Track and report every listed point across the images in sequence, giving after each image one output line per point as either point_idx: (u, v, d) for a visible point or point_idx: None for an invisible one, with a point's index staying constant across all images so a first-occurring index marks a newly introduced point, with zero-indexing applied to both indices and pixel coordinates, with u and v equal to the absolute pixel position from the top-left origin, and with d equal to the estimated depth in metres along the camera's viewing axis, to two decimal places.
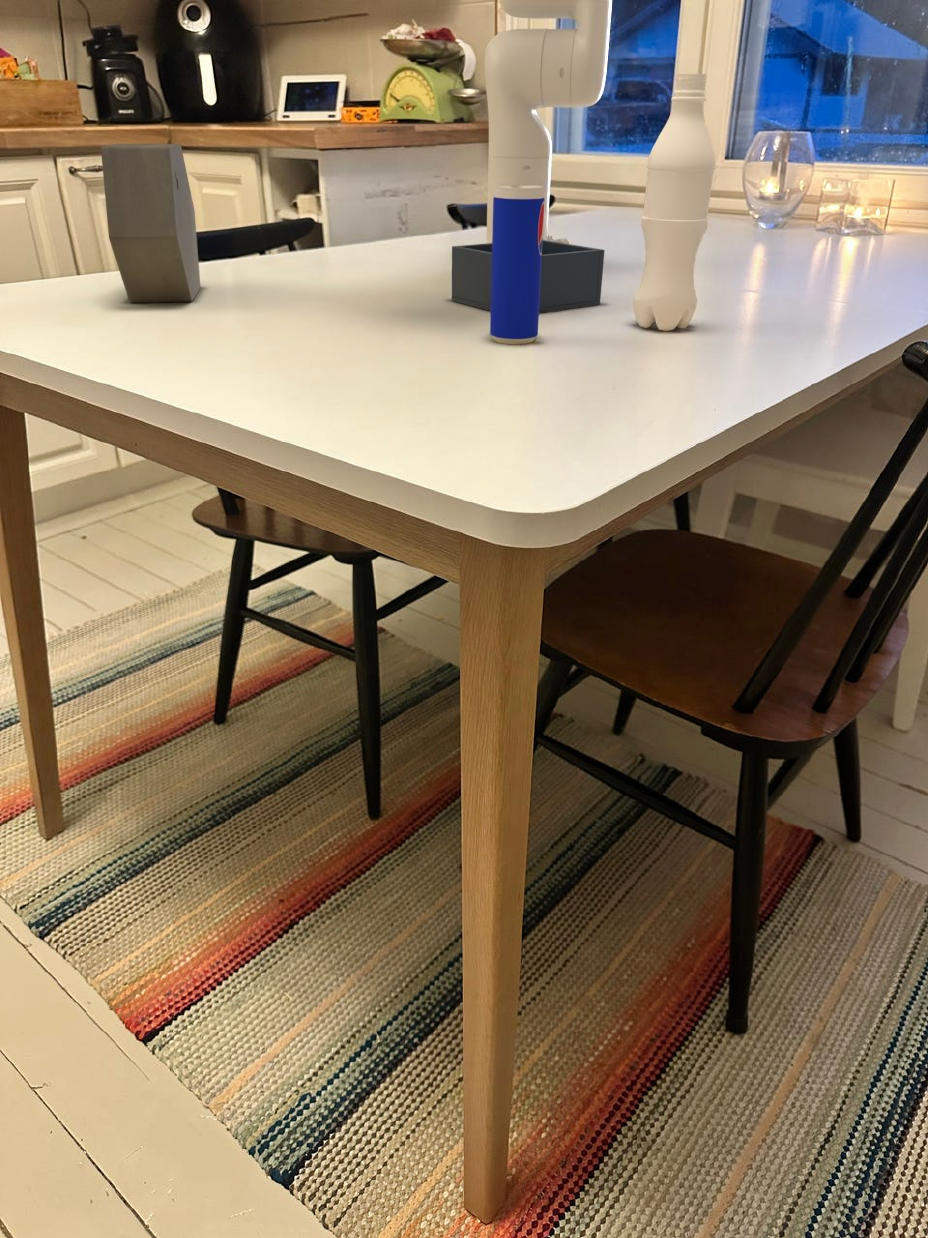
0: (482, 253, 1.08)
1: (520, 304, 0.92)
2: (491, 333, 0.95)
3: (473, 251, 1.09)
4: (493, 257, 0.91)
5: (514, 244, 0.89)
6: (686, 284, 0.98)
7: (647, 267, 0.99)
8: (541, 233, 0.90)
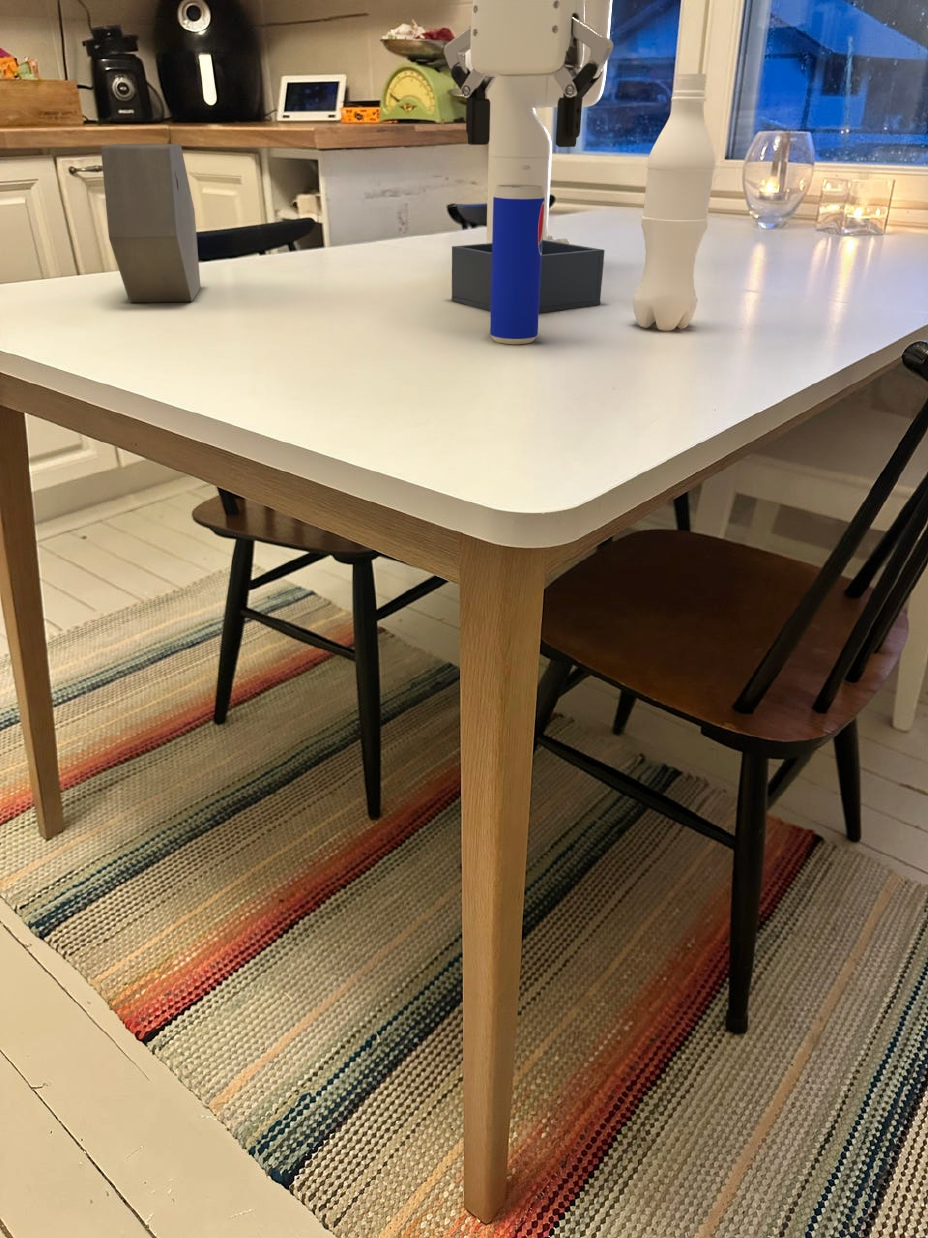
0: (482, 253, 1.08)
1: (520, 304, 0.92)
2: (491, 333, 0.95)
3: (473, 251, 1.09)
4: (493, 257, 0.91)
5: (514, 244, 0.89)
6: (686, 284, 0.98)
7: (647, 267, 0.99)
8: (541, 233, 0.90)
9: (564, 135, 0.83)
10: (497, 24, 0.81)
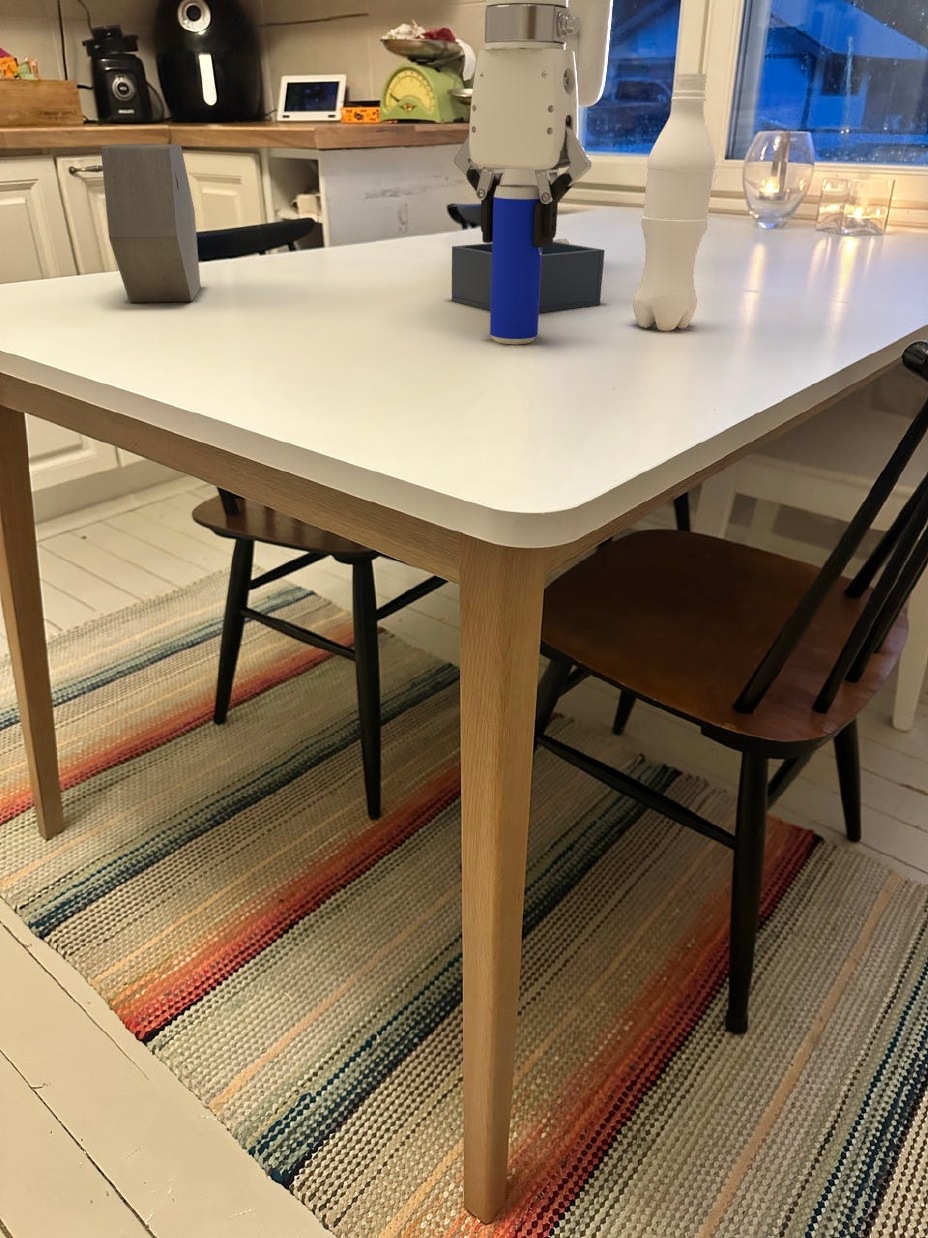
0: (482, 253, 1.08)
1: (520, 304, 0.92)
2: (491, 333, 0.95)
3: (473, 251, 1.09)
4: (493, 257, 0.91)
5: (515, 245, 0.89)
6: (686, 284, 0.98)
7: (647, 267, 0.99)
8: None
9: (541, 237, 0.88)
10: (495, 123, 0.85)
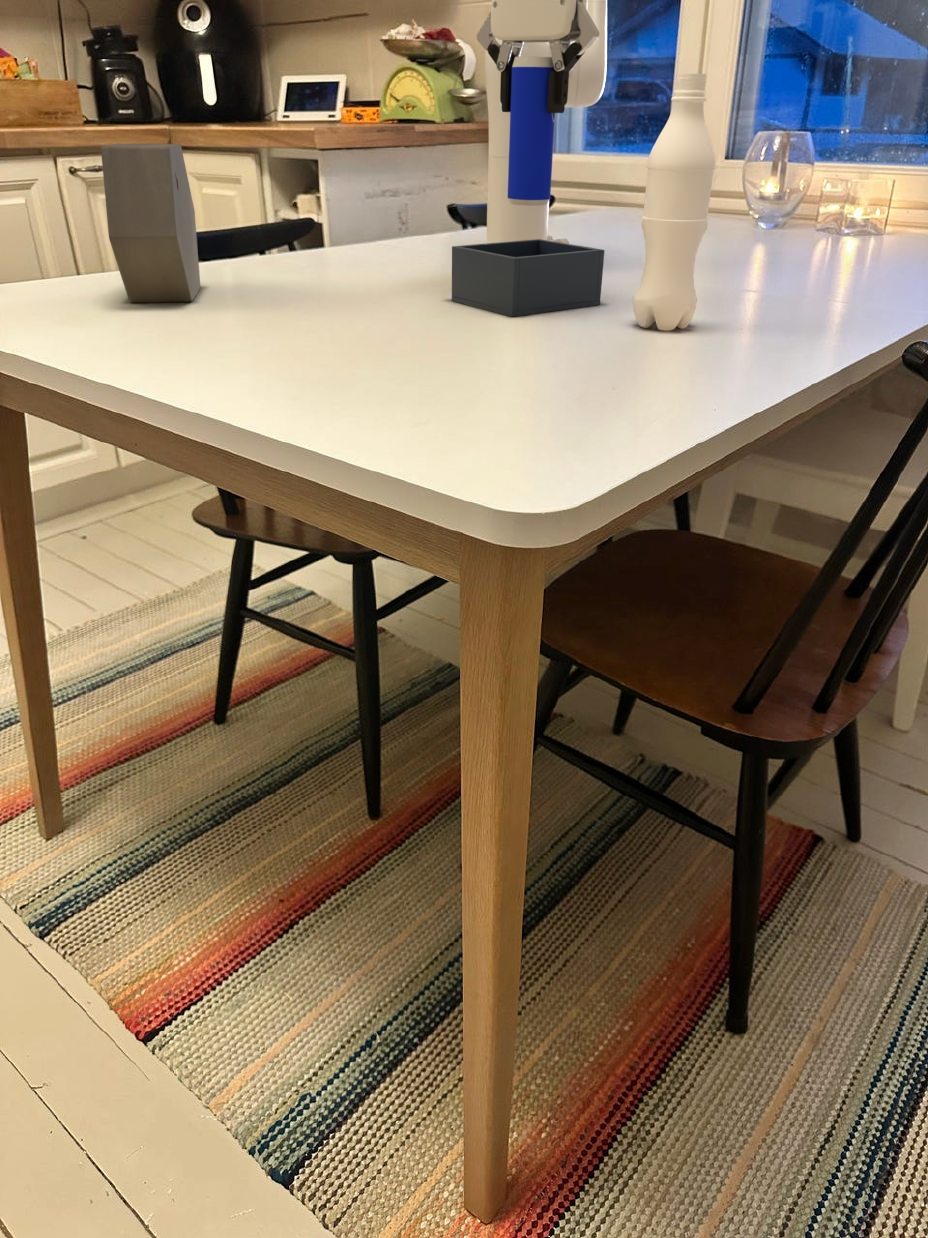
0: (482, 253, 1.08)
1: (535, 166, 1.03)
2: (508, 196, 1.06)
3: (473, 251, 1.09)
4: (511, 124, 1.02)
5: (531, 110, 1.00)
6: (686, 284, 0.98)
7: (647, 267, 0.99)
8: None
9: (554, 103, 1.00)
10: None
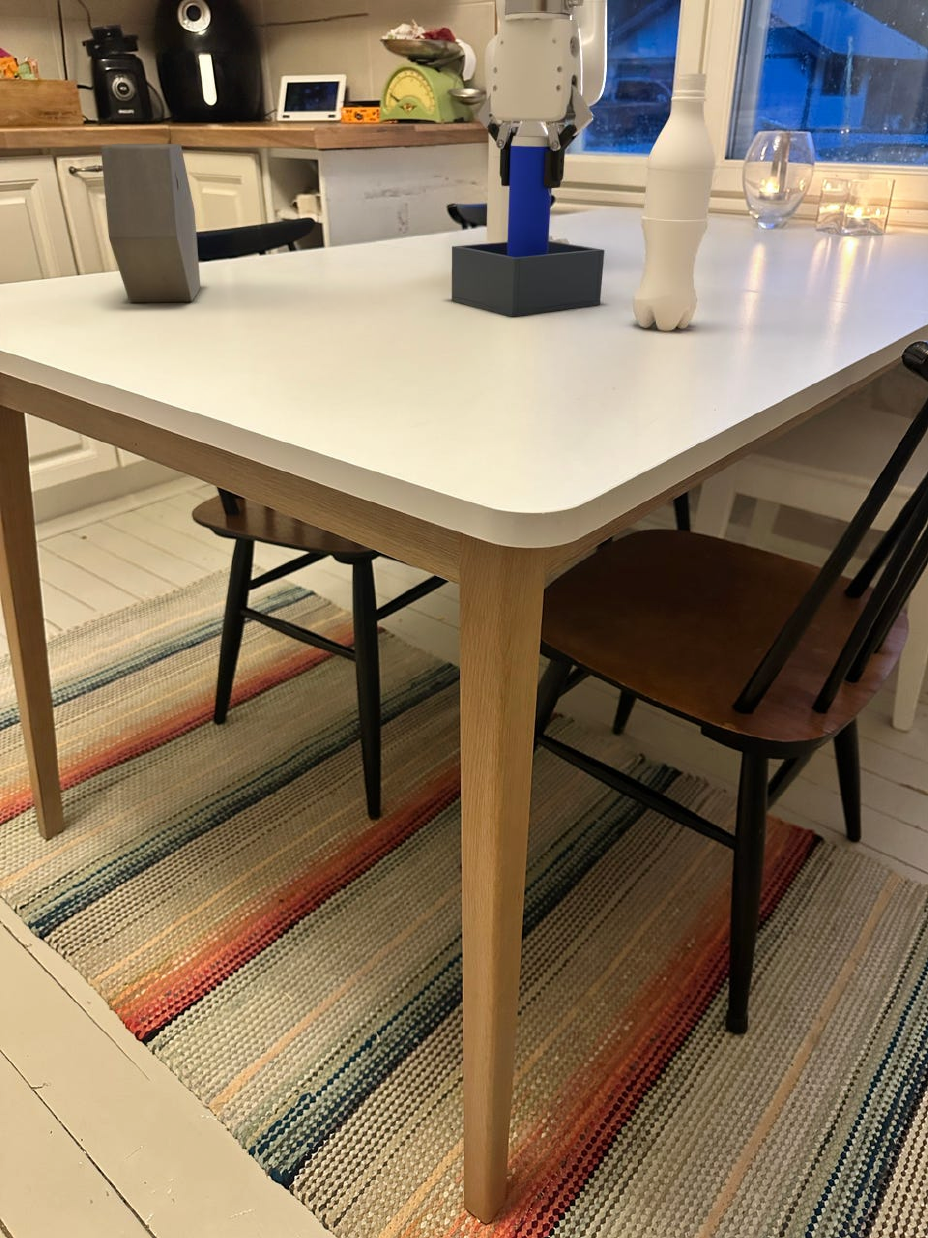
0: (482, 253, 1.08)
1: (532, 237, 1.09)
2: None
3: (473, 251, 1.09)
4: (510, 197, 1.08)
5: (528, 185, 1.06)
6: (686, 284, 0.98)
7: (647, 267, 0.99)
8: None
9: (550, 179, 1.05)
10: (512, 82, 1.02)
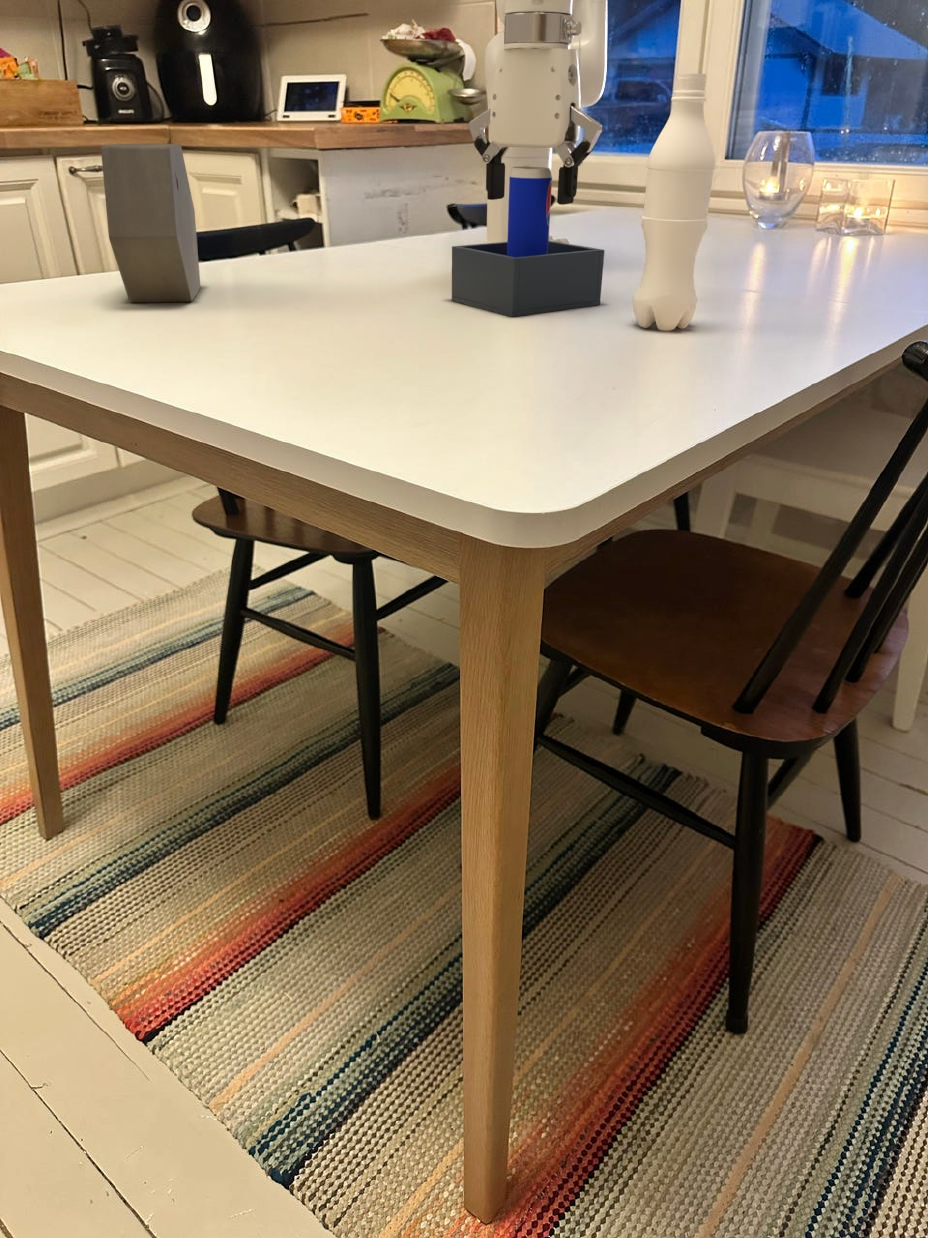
0: (482, 253, 1.08)
1: None
2: None
3: (473, 251, 1.09)
4: (509, 227, 1.10)
5: (527, 216, 1.07)
6: (686, 284, 0.98)
7: (647, 267, 0.99)
8: (549, 207, 1.08)
9: (564, 195, 1.05)
10: (511, 109, 1.03)
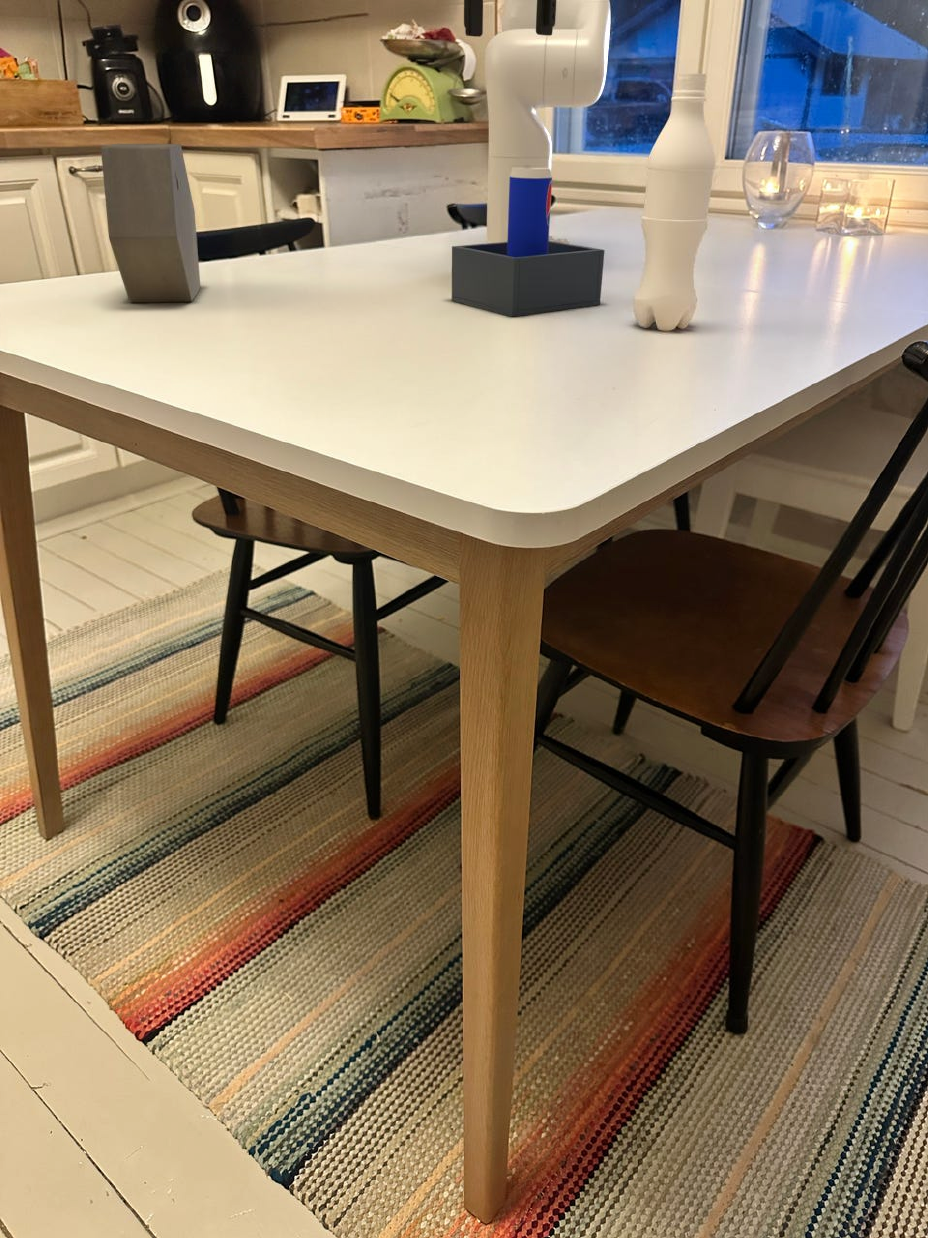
0: (482, 253, 1.08)
1: None
2: None
3: (473, 251, 1.09)
4: (509, 227, 1.10)
5: (527, 216, 1.07)
6: (686, 284, 0.98)
7: (647, 267, 0.99)
8: (549, 207, 1.08)
9: (542, 24, 1.04)
10: None
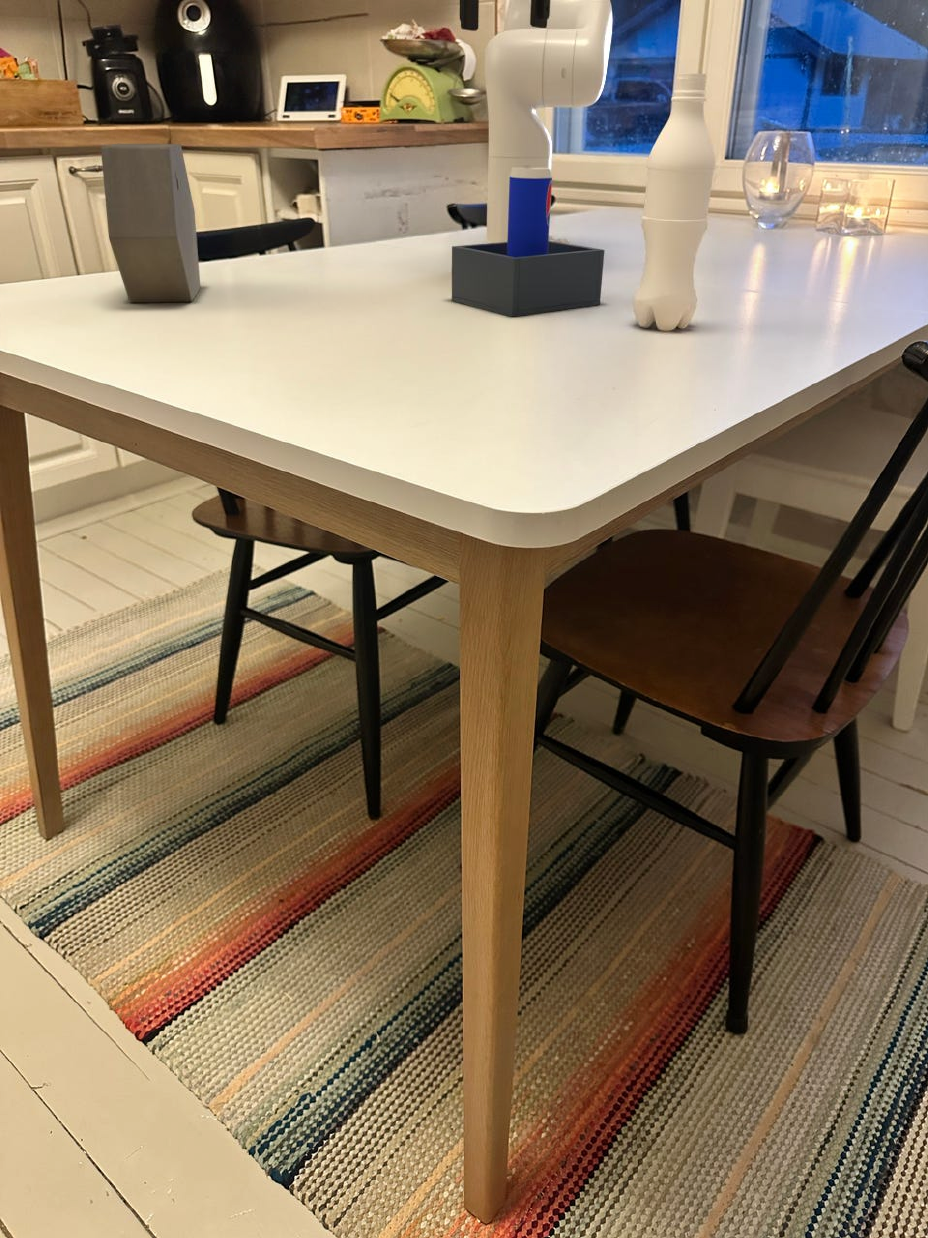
0: (482, 253, 1.08)
1: None
2: None
3: (473, 251, 1.09)
4: (509, 227, 1.10)
5: (527, 216, 1.07)
6: (686, 284, 0.98)
7: (647, 267, 0.99)
8: (549, 207, 1.08)
9: (537, 16, 1.05)
10: None
